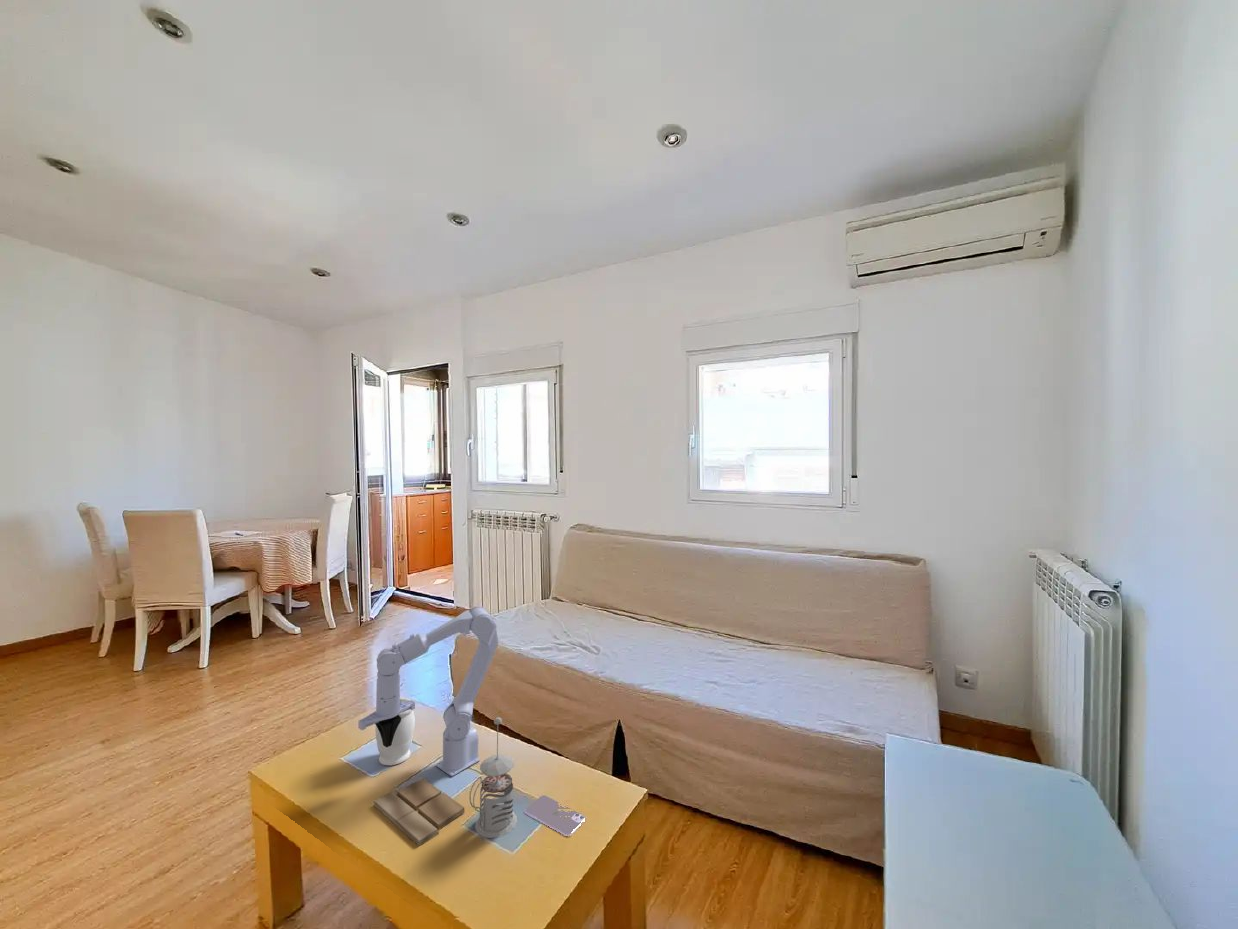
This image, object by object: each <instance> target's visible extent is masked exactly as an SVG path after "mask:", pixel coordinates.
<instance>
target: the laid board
mask: <svg viewBox="0 0 1238 929" xmlns="http://www.w3.org/2000/svg"><path fill="white" fill-rule="evenodd" d="M373 802H374V803H373V806H374V807H375V808H376V809H378V811H380V812H381V813H382V814H383V815H384V816H385V817H386V818H387V819H389V821H391V822H392V824H394V825H395V826H396V827H398V829H400V831H402V832H404V834H405V835H407V836H408V837H409V838H410V839H411V841H413V842H414V843H415V844H417V845H418V846H419V847H420V846H422V845H424V844H426V843H427V842H428V841H429V840H431V839H433V838H434V837H436V836H437V835H439V833H440V832H439V831H440V830H438V829H437V828H436V827H435V826H433V825H432V824H431V823H430V822H429V821H427V820H426V819H425V818H424V817H423V816H421V815H420V814H419V813H418V811H415V810H414V809H413V808H412V807H410V806H409V805H408V804H407V803H405V802H404V801H403V800H402V799H401V798H399V797H398V796H397V794H396V793H394V792H393V791H390V792H388V793H385V795H384V794H383V796H380V797H379V798H377V799H375V800H374V801H373Z"/></svg>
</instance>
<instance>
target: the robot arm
mask: <svg viewBox="0 0 1238 929" xmlns="http://www.w3.org/2000/svg"><path fill="white" fill-rule="evenodd" d="M471 632H472V633H473V634H474V636H476V637H477V639H478V641H479V644H478V645H477V648H476V651H475V654H474V655H473V658H472V661H471V662H470V665H469V667H468V669H467V672H466V674H465V676H464V679H463V681H462V684H461V686H460V689H459V691H458V693H457V695H455V697H453V699H452V701H451V703H450V704H449V705H448V706H447V707H446V708H445V709H444V712H443V716H442V717H443V721H444V724H445V729H444V731H443V733H442V760H441V761H439V762H436V764H435V766H436V767H437V768H438V769H440V770H442V772H444V773H446V774H447V775H449V776H450V777H454V776H456V775H457V774H459V773H461V772H463V771H464V770H467V768H469V767H472V766H473V765H475V764H476V763H478V762H480V760H481V759H480V757H479V740H480V739H479V734H478V731H477V728H475V727H474V726H473V725H471V720H472V719H471V718H472V717H473V712H474V711H473V710H474V704H475V701H476V698H477V696H478V693H479V691H480V689H481V686H482V683H483V681H484V679H485V677H486V674H487V672H488V670H489V667H490V665H491V663H492V660H493V657H494V655H495V653H496V651H497V648H498V644H499V638H498V631H497V623H496V622H495V620H494V618H493V617H492V616H491V615H490V613H489V612H488V610H487V608H485V607H484V606H473V607H471V609H469V610H467V609H466V610H465V611H463V612H462V613H460V614H459V615H458V616H457V615H456V616H455V617H453V618H452V619H450V620H449V621H447V622H445V623H443V624H441V625H440V626H439V627H436V628H435V629H433V630H431V631H429V632H427V633H426V634H425V633H424V634H423V633H417V634H415V633H412V634H410V635H409V638H408V639H407V638H406V639H405V640H403V641H401V642H400V643H397V644H396V643H394V644H392V645H391V647H390V646H389V647H385V648H383V649H382V650H381V651H380V652H379V653H378V655H377V657H376V667H377V672H376V674H377V677H376V691H375V693H376V697H375V698H376V701H375V711H374V712H371V713H370V714H369V715H367V716H366V717H363V718H362V719H361V718H360V719H358V725H357V726H358V729H359V730H361V731H363V730H366V729H367V728H369V727H370V726H373V725H375V727H376V726H377V728H378V730H379V732H380V735H381V738H382V742H383V745H384V746H385V747H389V746H391V745H392V741H393V737H394V734H395V732H396V729H397V727H398V725H399V724H400V722H401V717H400V716H399V714H400V713H403V712H405V711H407V710H413V711H414V710H416V702H415V701H414V700H413V699H411V700H410V701H407V702H403V703H400V698H401V697H400V696H401V687H400V686H401V685H400V684H401V675H400V669H401V668H402V666H403V665H406V664H408V663H410V662H412V661H413V660H416V659H418V658H419V657H421V656H423V655H425V654H427V653H428V652H429V649H430V647H431V646H433V645H435V644H437V643H439V642H441V641H443V640H445V639H447V638H450V637H451V636H453V635H456V634H458V633H459V634H464V635H470V634H471ZM412 700H413V701H412Z"/></svg>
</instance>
